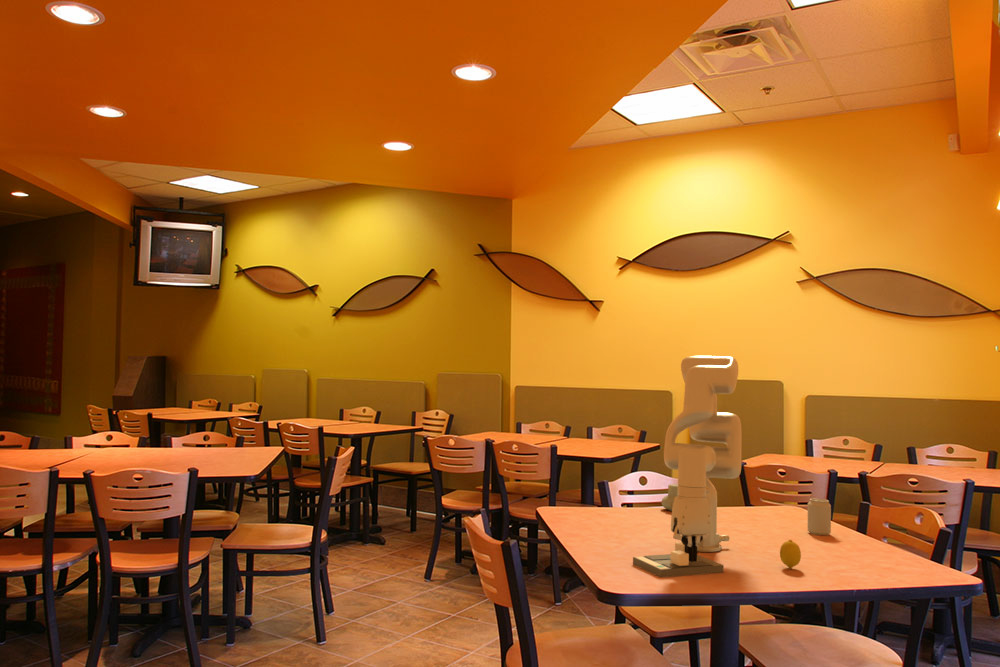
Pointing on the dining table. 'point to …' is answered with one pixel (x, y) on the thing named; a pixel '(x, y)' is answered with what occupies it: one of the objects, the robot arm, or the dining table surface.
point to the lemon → (790, 553)
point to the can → (819, 517)
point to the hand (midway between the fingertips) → (690, 560)
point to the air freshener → (670, 497)
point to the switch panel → (676, 566)
